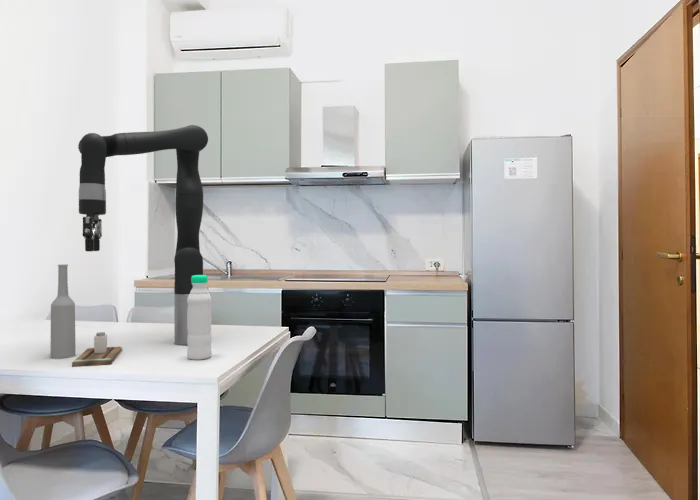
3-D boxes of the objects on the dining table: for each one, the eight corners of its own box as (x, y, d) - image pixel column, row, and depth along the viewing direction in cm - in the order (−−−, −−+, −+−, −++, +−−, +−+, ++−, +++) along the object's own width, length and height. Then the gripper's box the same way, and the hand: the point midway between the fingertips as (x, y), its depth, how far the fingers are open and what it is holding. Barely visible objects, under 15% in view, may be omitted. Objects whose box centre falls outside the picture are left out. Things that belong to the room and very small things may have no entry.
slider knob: (107, 350, 150) (107, 331, 150) (105, 352, 147) (105, 333, 147) (96, 351, 149) (96, 332, 149) (94, 353, 146) (94, 334, 146)
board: (121, 350, 155) (121, 345, 155) (111, 364, 138) (111, 358, 138) (87, 352, 153) (87, 347, 153) (72, 366, 135) (71, 360, 135)
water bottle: (198, 361, 142) (198, 276, 142) (182, 358, 146) (182, 275, 145) (216, 356, 148) (216, 275, 148) (200, 353, 152) (200, 274, 151)
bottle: (49, 355, 149) (48, 264, 148) (73, 352, 153) (73, 264, 152) (51, 359, 143) (51, 265, 143) (77, 356, 147) (76, 264, 147)
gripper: (101, 197, 145) (101, 251, 145) (110, 201, 158) (110, 250, 159) (72, 196, 143) (73, 251, 143) (84, 200, 156) (84, 250, 157)
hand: (92, 251), depth 151 cm, fingers open, 8 cm apart
